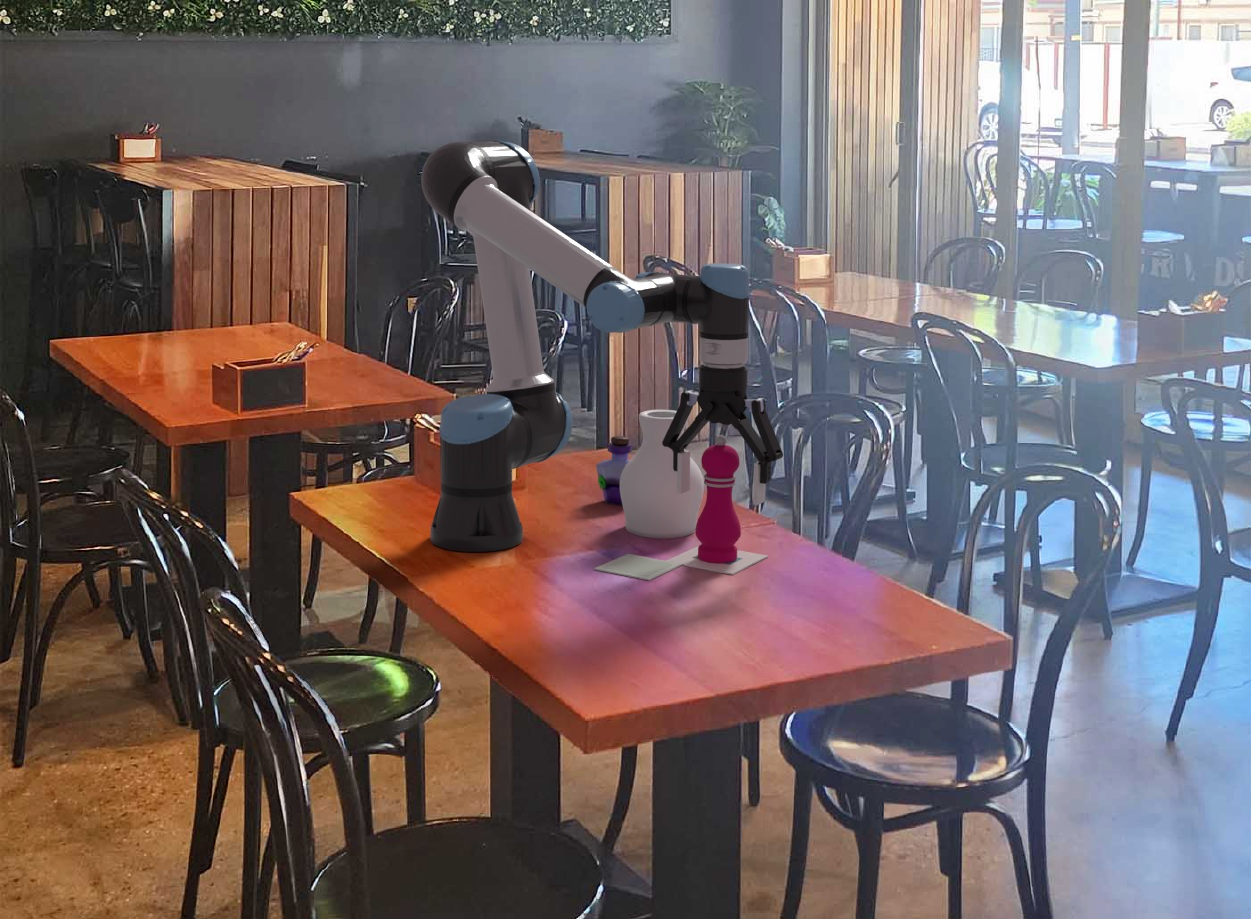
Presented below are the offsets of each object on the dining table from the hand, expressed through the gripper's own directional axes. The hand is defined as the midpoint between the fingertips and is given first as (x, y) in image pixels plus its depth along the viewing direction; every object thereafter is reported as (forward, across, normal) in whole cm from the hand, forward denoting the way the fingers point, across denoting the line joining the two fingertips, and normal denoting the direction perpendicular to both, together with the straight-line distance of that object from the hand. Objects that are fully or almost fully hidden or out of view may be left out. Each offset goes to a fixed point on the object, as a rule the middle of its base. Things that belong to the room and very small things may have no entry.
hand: (720, 497), depth 254 cm
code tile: (+10, 0, 0) cm, 10 cm away
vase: (+10, -17, +11) cm, 23 cm away
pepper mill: (+10, 0, 0) cm, 10 cm away
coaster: (+10, -8, -11) cm, 17 cm away
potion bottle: (+10, -33, +23) cm, 41 cm away
